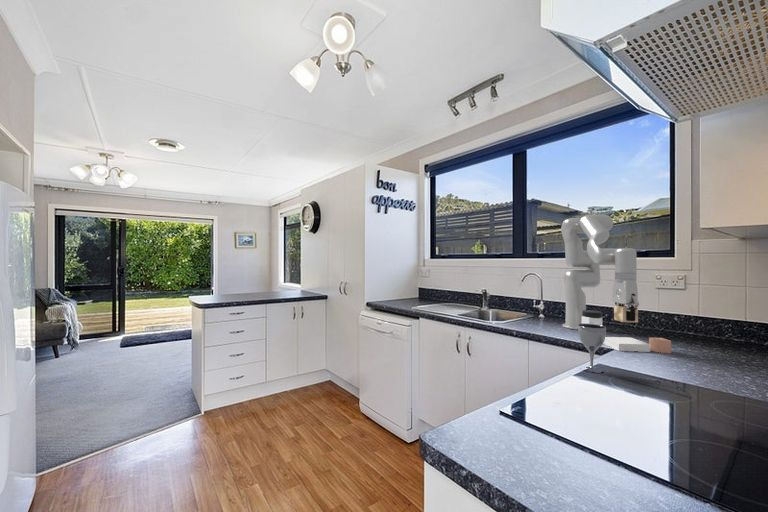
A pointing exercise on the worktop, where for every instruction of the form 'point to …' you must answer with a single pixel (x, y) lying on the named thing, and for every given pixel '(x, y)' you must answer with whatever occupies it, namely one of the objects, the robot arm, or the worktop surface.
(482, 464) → the worktop surface
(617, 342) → the plinth
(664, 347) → the terracotta cube
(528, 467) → the worktop surface
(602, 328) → the wine glass
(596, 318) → the jar
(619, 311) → the maple cube
